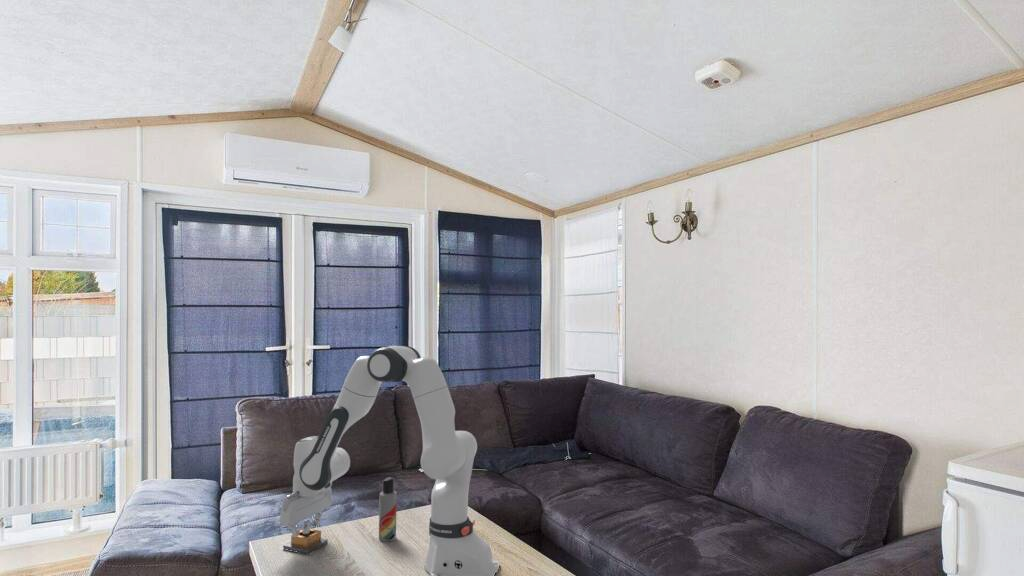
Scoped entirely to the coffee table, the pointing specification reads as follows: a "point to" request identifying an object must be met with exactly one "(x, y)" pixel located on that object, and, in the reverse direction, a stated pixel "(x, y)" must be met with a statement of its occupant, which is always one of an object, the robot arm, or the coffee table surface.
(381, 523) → the lotion bottle
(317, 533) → the wooden square frame
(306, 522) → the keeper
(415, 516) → the coffee table surface
